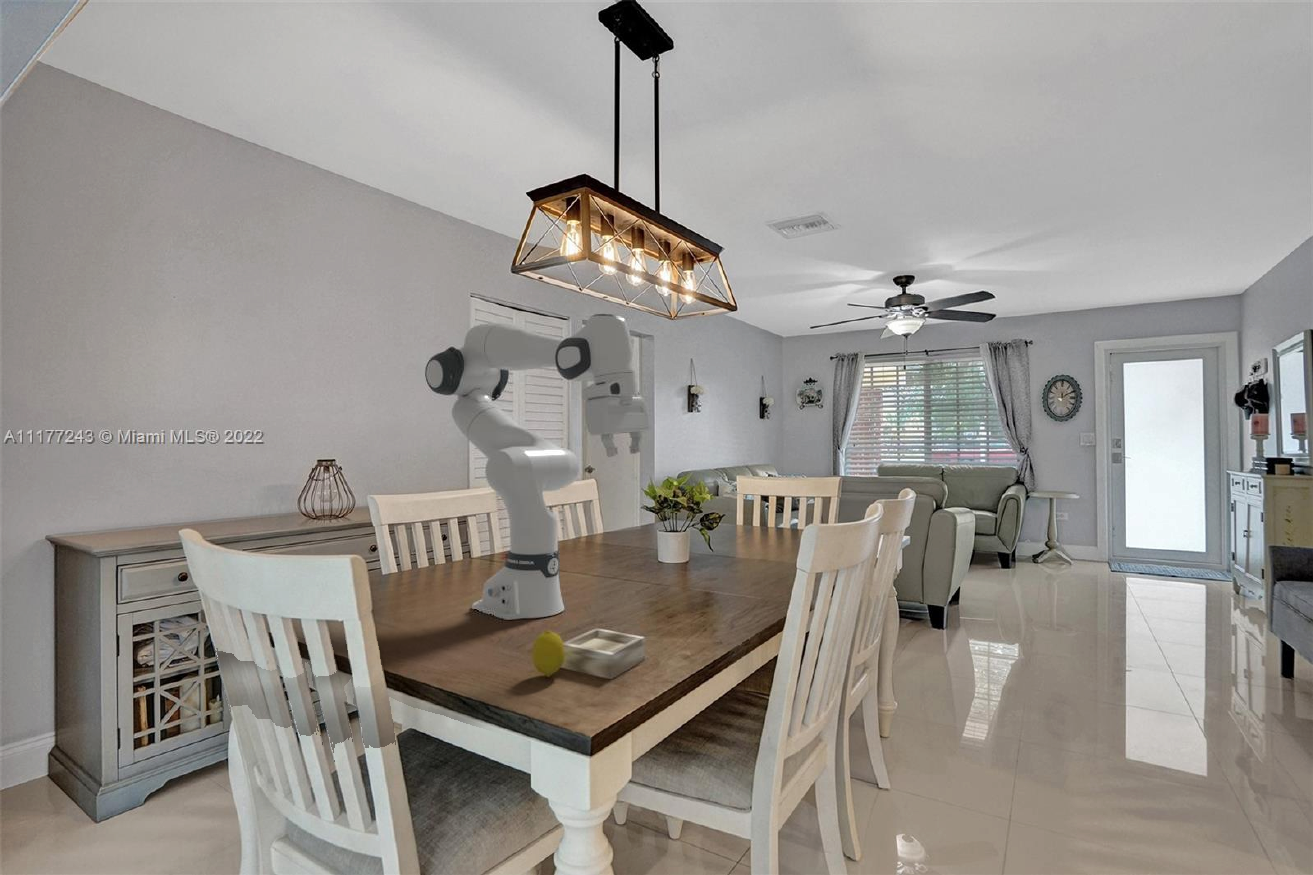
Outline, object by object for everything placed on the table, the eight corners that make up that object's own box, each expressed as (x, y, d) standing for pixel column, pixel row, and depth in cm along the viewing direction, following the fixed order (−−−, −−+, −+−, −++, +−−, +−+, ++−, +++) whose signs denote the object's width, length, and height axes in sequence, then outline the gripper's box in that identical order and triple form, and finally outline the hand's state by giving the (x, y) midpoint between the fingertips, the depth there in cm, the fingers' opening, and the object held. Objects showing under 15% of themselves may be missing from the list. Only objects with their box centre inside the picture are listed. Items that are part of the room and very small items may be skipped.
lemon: (566, 670, 112) (566, 625, 112) (562, 682, 106) (562, 635, 106) (534, 671, 112) (534, 625, 112) (529, 683, 106) (529, 635, 106)
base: (560, 667, 114) (560, 643, 114) (596, 649, 123) (596, 628, 123) (611, 679, 108) (611, 654, 108) (644, 659, 117) (644, 637, 117)
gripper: (628, 392, 144) (635, 453, 144) (576, 391, 126) (585, 460, 126) (652, 388, 141) (660, 450, 141) (603, 386, 123) (611, 456, 123)
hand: (624, 455), depth 133 cm, fingers open, 8 cm apart
